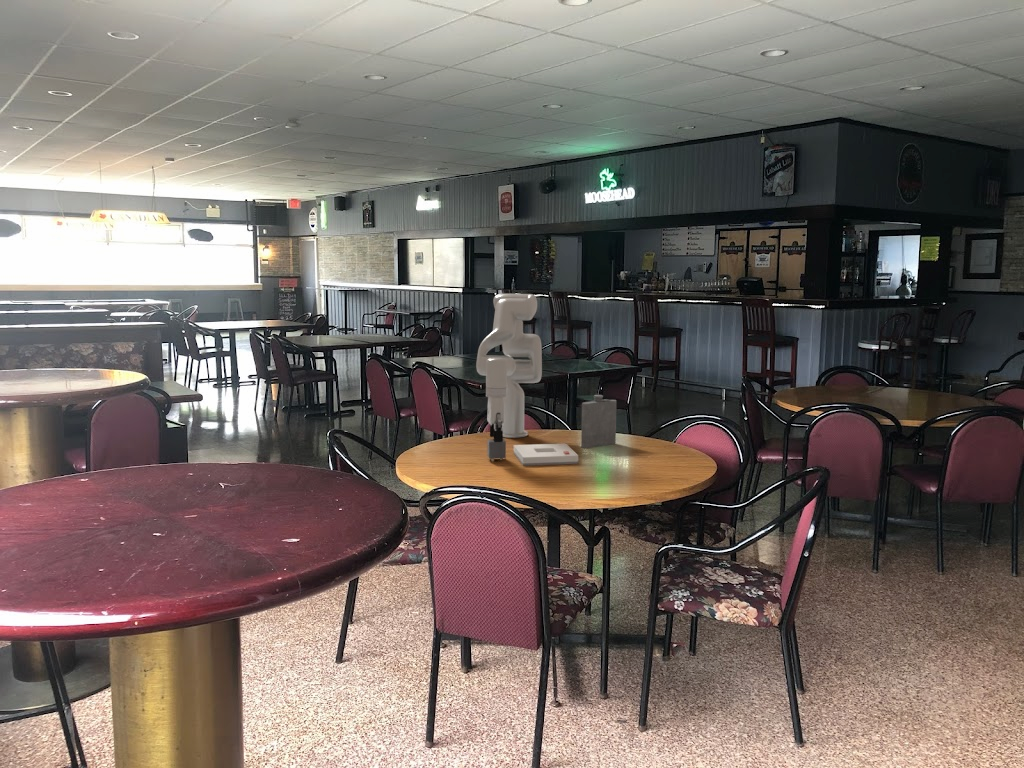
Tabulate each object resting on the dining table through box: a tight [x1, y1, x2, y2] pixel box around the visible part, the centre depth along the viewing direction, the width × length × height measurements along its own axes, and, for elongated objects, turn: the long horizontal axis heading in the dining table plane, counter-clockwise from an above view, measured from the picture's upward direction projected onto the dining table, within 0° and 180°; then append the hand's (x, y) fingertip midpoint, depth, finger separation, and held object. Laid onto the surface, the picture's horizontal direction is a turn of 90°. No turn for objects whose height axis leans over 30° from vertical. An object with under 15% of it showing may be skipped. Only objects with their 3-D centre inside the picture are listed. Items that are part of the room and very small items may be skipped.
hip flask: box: [580, 394, 617, 449], centre depth 314 cm, size 16×4×20 cm, turn 121°
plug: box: [486, 438, 507, 462], centre depth 290 cm, size 5×6×7 cm
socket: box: [513, 442, 579, 467], centre depth 294 cm, size 20×20×4 cm
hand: (496, 439), depth 289 cm, fingers open, 9 cm apart
